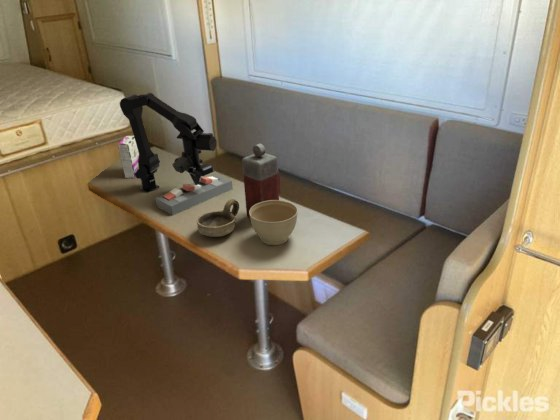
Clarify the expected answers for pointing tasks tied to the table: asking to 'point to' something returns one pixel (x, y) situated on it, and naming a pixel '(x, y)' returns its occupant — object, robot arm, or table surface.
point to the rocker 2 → (190, 187)
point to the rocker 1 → (173, 194)
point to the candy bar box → (129, 156)
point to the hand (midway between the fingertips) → (196, 184)
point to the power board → (194, 195)
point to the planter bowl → (273, 220)
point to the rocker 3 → (208, 180)
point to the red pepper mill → (260, 177)
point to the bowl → (219, 220)
